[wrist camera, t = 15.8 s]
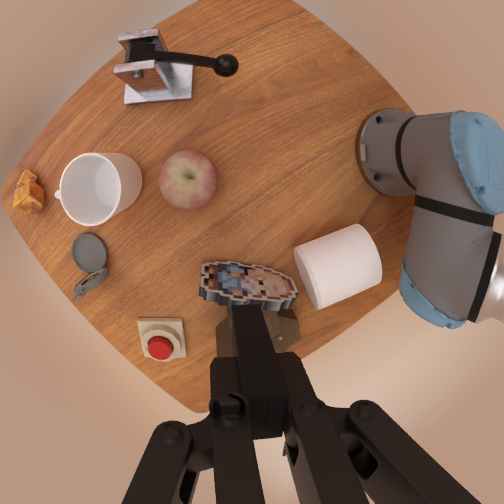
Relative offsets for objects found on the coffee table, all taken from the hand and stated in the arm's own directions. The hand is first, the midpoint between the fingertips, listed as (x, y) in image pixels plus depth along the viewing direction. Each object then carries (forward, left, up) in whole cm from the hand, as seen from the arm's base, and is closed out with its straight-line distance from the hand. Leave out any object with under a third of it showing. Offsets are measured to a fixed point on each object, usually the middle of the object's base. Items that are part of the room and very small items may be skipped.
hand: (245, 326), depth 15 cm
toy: (-3, +8, -28) cm, 30 cm away
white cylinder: (-12, +9, -24) cm, 28 cm away
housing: (+12, +21, -28) cm, 37 cm away
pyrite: (+32, -6, -29) cm, 43 cm away
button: (+11, +21, -26) cm, 35 cm away
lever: (+6, -21, -21) cm, 30 cm away
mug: (+18, -6, -29) cm, 34 cm away
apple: (+5, -6, -29) cm, 30 cm away
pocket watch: (+22, +6, -29) cm, 37 cm away
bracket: (+10, -21, -28) cm, 37 cm away
